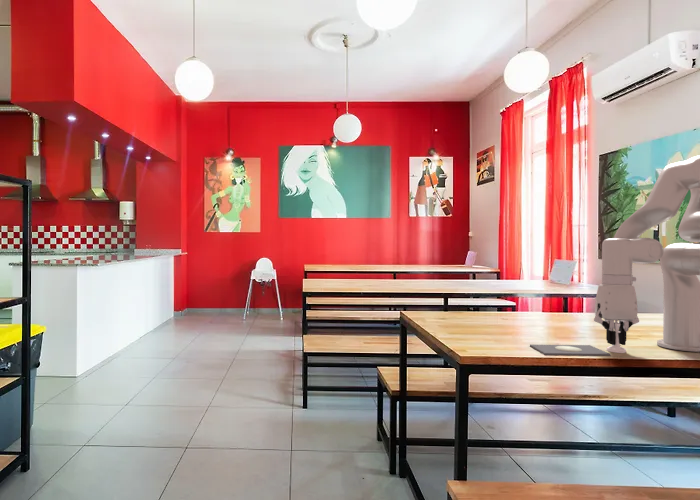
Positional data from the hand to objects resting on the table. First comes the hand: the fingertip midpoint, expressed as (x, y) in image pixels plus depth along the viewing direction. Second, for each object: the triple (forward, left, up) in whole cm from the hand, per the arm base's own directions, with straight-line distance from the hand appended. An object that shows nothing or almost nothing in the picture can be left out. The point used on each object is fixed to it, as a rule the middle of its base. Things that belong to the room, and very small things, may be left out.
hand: (616, 343), depth 127 cm
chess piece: (0, 0, -2) cm, 2 cm away
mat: (+12, +7, -2) cm, 14 cm away
